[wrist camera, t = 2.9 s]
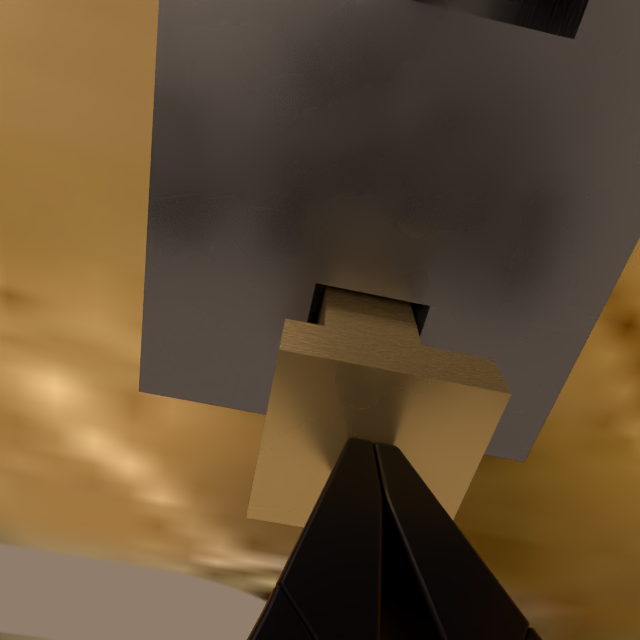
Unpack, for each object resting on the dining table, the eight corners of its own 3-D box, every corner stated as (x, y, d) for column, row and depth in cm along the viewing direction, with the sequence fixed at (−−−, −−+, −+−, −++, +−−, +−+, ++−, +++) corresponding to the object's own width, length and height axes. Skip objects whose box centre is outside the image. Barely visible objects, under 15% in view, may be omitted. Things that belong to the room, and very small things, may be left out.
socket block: (478, 360, 18) (524, 461, 14) (189, 303, 17) (138, 391, 13) (745, -291, 11) (1035, -532, 6) (262, -431, 10) (201, -814, 6)
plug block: (400, 362, 15) (438, 550, 10) (281, 339, 15) (246, 518, 9) (438, 248, 14) (511, 394, 8) (304, 221, 13) (278, 349, 8)
